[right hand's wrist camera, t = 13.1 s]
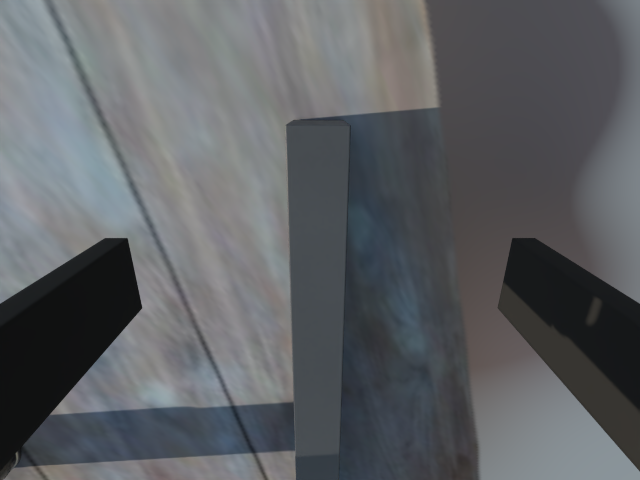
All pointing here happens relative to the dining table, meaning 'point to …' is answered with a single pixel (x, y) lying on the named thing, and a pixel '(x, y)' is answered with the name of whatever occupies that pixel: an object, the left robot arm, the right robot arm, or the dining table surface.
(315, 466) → the bar
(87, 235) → the dining table surface
